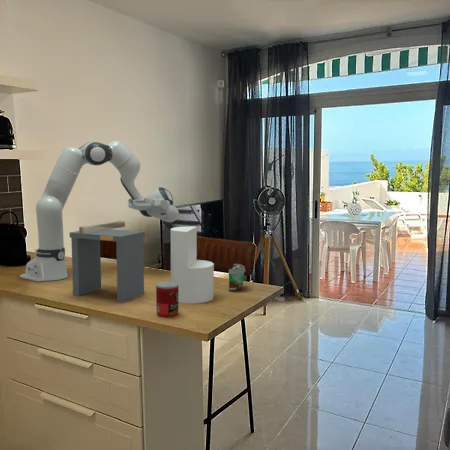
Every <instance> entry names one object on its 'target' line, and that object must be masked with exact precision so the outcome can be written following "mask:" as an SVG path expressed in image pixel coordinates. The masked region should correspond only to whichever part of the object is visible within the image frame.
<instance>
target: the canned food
mask: <svg viewBox="0 0 450 450" xmlns="http://www.w3.org/2000/svg"><path fill="white" fill-rule="evenodd" d="M155 290H156V291H155V292H156V293H155V294H156V295H155V296H156V297H155V299H156V300H155V301H156V303H155V304H156V308H155V309H156V315H157V316H158V317H160V318H161V317H162V318H174V317H176V316H178V315H179V302H178V283H176V282H171V281H160V282H157V283H156V286H155Z"/></svg>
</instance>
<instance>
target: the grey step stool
mask: <svg viewBox="0 0 450 450" xmlns="http://www.w3.org/2000/svg"><path fill="white" fill-rule="evenodd" d="M145 236H146V233H145V231H141V230H140V231H139V230H138V231H137V230H125V229H110V230H104V231H98V232H93V233H87V234H82V233H79V230H76V231H71V232H70V231H69V238H71V265H72V266H71V267H72V295H73V296H76V297H80V296H83V295H86V294H88V293H92V292H94V291H97V290H101V289H102V269H101V268H102V266H101V264H102V263H101V262H102V261H101V259H102V258H101V257H102V256H101V241H105V242H106V241H109V242H116V243H115V244H116V288H117V289H116V290H117V291H116V294H117V298H116V299H117V302H118V303H123V304H124V303H127V302H130V301H131V300H133V299H135V298H138V297H140V296H142V295H143V296H144V295H145V269H144V268H145V265H144V263H145V259H144V258H145V255H144V254H145V253H144V251H145V250H144V247H145V246H144V237H145Z"/></svg>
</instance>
